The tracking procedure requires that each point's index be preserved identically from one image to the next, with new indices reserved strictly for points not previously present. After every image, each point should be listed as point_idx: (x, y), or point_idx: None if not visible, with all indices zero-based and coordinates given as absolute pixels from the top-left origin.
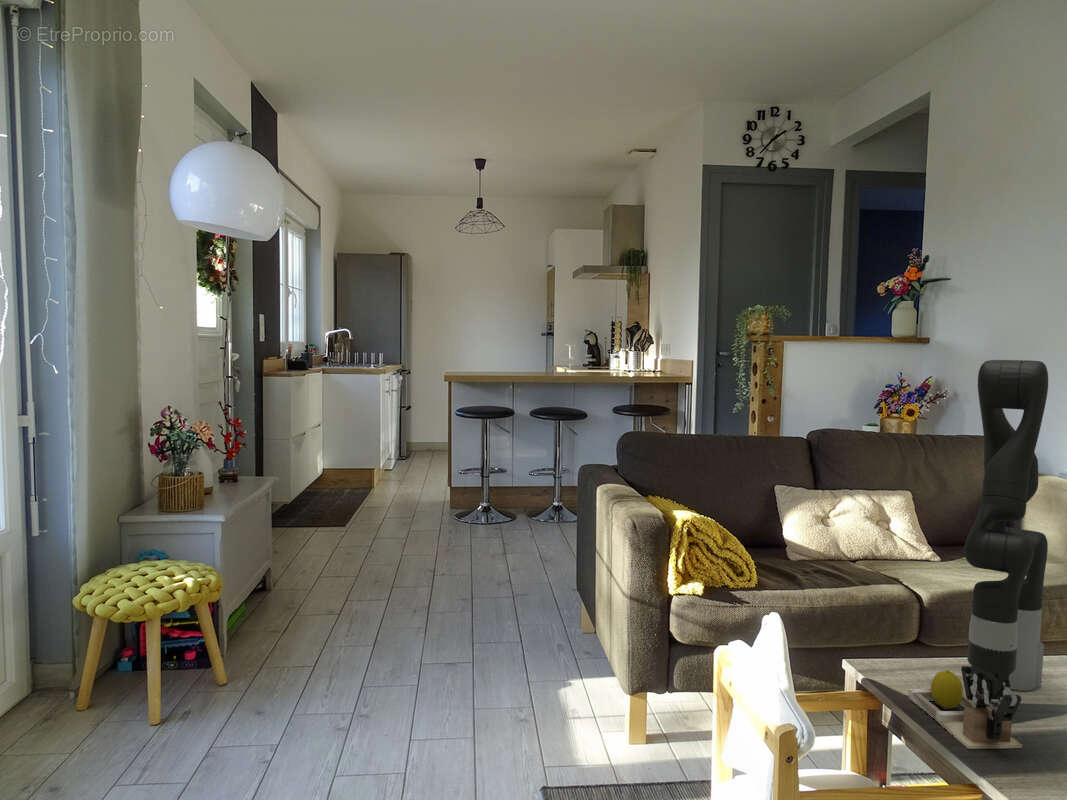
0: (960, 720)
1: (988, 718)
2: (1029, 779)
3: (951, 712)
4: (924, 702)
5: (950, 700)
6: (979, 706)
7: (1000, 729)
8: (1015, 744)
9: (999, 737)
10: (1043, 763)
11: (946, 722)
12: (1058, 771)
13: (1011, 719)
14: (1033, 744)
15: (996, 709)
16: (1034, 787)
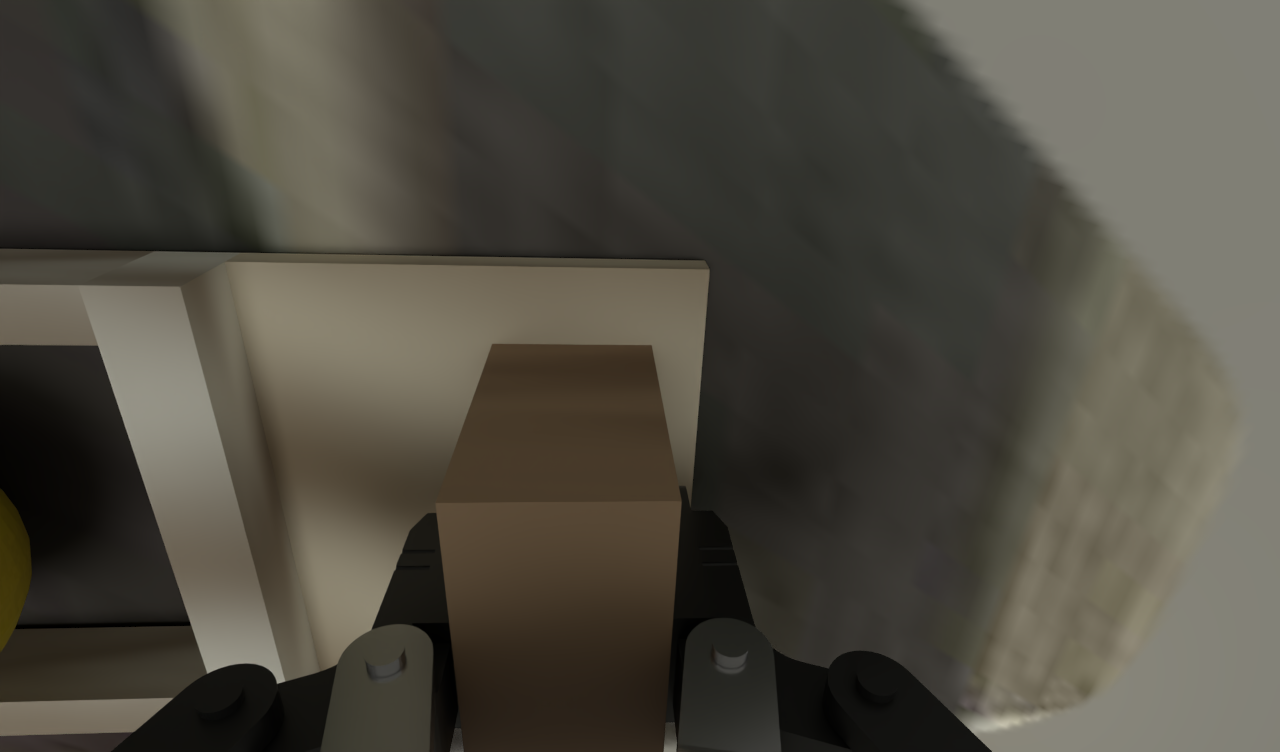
0: (282, 548)
1: (673, 719)
2: (1086, 496)
3: (225, 638)
4: (40, 729)
5: (6, 620)
6: (450, 739)
7: (739, 581)
8: (696, 327)
9: (714, 521)
10: (951, 242)
11: (317, 638)
12: (1087, 205)
13: (915, 688)
14: (634, 71)
15: (504, 589)
16: (1165, 524)
